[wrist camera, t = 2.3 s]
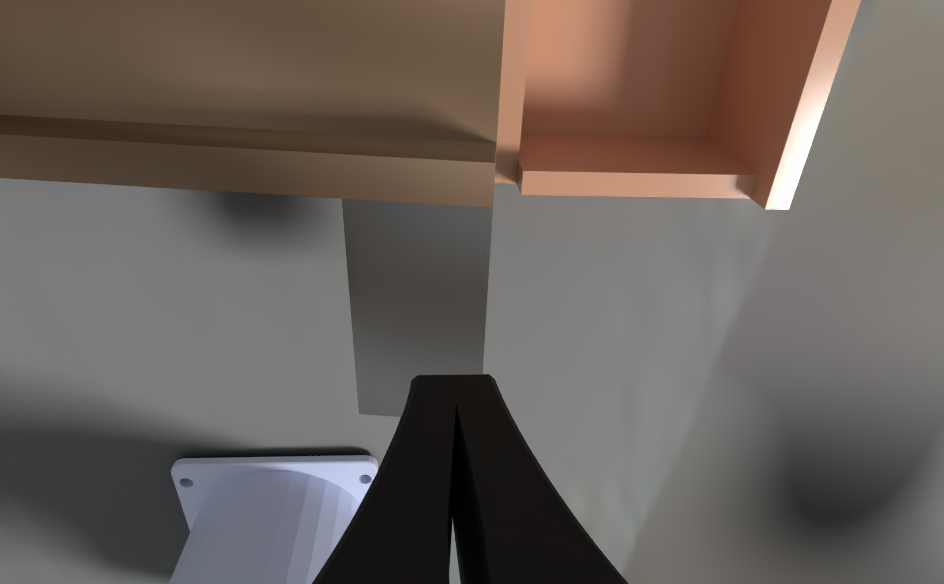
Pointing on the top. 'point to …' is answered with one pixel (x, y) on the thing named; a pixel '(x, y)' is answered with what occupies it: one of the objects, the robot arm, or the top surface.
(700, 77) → the cup
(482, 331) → the lever board
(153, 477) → the top surface
